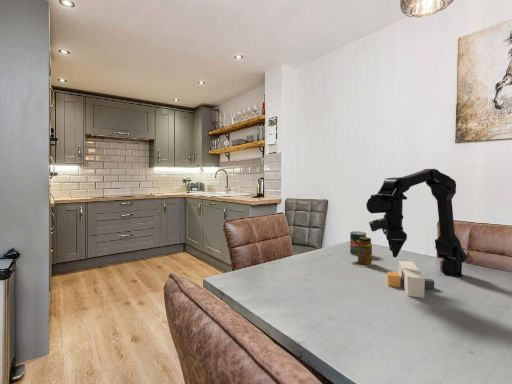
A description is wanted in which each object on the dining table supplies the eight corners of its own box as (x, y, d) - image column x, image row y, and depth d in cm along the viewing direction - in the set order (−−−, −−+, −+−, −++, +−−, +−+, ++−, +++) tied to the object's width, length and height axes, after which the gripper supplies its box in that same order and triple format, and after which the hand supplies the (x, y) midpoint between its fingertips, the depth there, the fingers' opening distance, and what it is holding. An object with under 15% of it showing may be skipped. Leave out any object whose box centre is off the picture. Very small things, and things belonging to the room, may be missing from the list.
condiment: (375, 264, 133) (376, 238, 133) (364, 267, 129) (364, 240, 128) (362, 260, 139) (362, 235, 139) (350, 263, 135) (350, 238, 134)
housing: (412, 277, 115) (412, 261, 115) (424, 297, 96) (424, 278, 96) (398, 276, 117) (399, 260, 116) (407, 295, 98) (407, 277, 97)
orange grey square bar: (431, 286, 106) (432, 275, 106) (434, 290, 102) (435, 279, 102) (387, 282, 111) (387, 271, 110) (388, 286, 107) (388, 275, 107)
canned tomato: (366, 252, 154) (366, 231, 153) (365, 256, 147) (365, 234, 146) (350, 251, 157) (351, 230, 156) (349, 254, 150) (349, 233, 149)
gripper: (369, 208, 118) (368, 246, 119) (371, 214, 101) (371, 258, 101) (399, 209, 115) (398, 248, 116) (407, 215, 97) (406, 261, 98)
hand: (393, 253), depth 108 cm, fingers open, 9 cm apart
